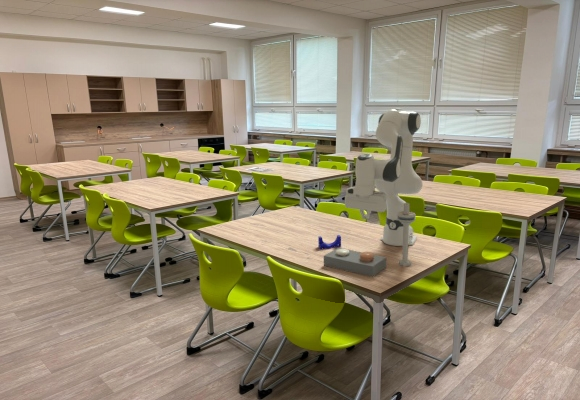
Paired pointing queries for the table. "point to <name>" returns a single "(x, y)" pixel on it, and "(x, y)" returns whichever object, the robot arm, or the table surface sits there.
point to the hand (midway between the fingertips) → (365, 218)
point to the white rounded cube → (342, 252)
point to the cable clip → (327, 246)
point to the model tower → (405, 232)
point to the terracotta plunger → (366, 256)
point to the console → (355, 263)
